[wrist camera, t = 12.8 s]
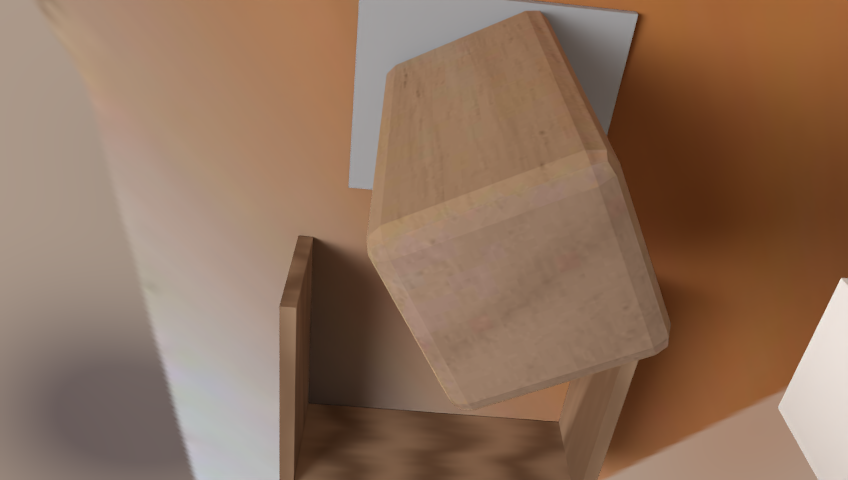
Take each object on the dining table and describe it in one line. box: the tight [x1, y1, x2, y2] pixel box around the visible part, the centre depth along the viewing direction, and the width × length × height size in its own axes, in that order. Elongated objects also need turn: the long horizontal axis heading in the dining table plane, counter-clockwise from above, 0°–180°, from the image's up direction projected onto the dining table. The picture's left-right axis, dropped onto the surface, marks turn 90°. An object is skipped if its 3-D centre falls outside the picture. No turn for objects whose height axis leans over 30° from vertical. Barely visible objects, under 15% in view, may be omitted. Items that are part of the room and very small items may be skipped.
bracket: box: [280, 236, 638, 480], centre depth 53 cm, size 23×17×8 cm
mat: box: [349, 0, 638, 190], centre depth 46 cm, size 16×13×1 cm
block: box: [367, 11, 671, 410], centre depth 37 cm, size 10×10×20 cm
